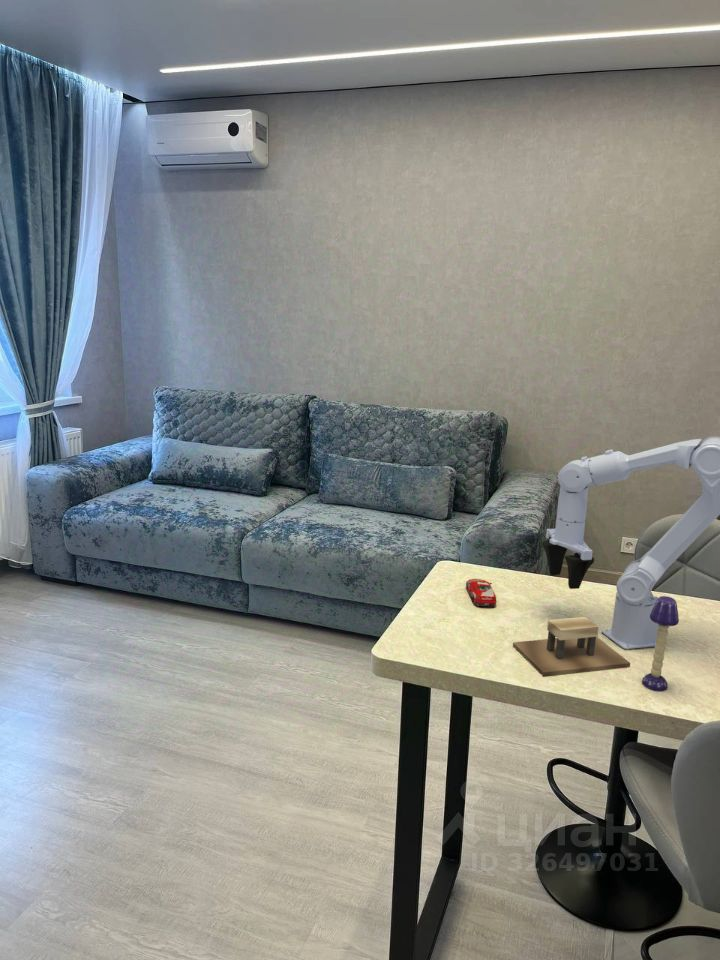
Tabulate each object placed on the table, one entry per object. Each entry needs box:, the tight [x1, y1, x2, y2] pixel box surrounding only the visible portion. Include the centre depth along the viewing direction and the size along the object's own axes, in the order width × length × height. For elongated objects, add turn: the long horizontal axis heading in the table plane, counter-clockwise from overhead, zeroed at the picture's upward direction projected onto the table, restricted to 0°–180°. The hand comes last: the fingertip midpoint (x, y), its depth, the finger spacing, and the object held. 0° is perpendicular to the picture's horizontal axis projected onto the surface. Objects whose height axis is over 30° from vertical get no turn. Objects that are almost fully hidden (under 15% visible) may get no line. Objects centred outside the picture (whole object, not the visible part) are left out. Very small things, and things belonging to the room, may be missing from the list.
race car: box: [465, 578, 497, 607], centre depth 162 cm, size 13×5×4 cm, turn 1°
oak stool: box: [547, 616, 599, 659], centre depth 135 cm, size 4×8×6 cm, turn 105°
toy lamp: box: [641, 595, 680, 692], centre depth 124 cm, size 5×5×17 cm
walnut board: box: [512, 636, 631, 677], centre depth 135 cm, size 18×12×1 cm, turn 105°
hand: (564, 581), depth 148 cm, fingers open, 7 cm apart
